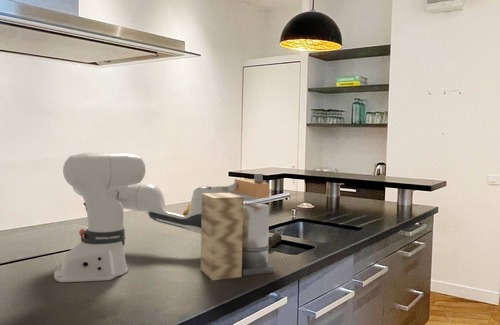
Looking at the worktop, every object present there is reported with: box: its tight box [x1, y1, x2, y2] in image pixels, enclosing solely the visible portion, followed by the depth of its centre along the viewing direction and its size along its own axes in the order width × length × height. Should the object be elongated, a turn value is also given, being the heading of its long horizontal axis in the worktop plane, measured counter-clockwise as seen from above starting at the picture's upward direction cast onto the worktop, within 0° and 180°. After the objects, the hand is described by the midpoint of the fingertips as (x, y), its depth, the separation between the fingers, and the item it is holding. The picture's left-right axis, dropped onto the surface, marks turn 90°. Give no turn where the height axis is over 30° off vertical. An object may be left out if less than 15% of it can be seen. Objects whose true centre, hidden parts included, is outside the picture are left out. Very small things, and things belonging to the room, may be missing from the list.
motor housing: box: [242, 202, 274, 276], centre depth 149 cm, size 11×11×22 cm
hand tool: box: [268, 233, 282, 251], centre depth 182 cm, size 19×4×5 cm, turn 158°
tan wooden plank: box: [234, 173, 270, 199], centre depth 150 cm, size 4×19×8 cm, turn 24°
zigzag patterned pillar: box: [200, 193, 244, 281], centre depth 144 cm, size 10×12×26 cm
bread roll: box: [182, 203, 191, 216], centre depth 241 cm, size 13×10×8 cm
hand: (244, 184), depth 156 cm, fingers closed on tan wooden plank, 4 cm apart
